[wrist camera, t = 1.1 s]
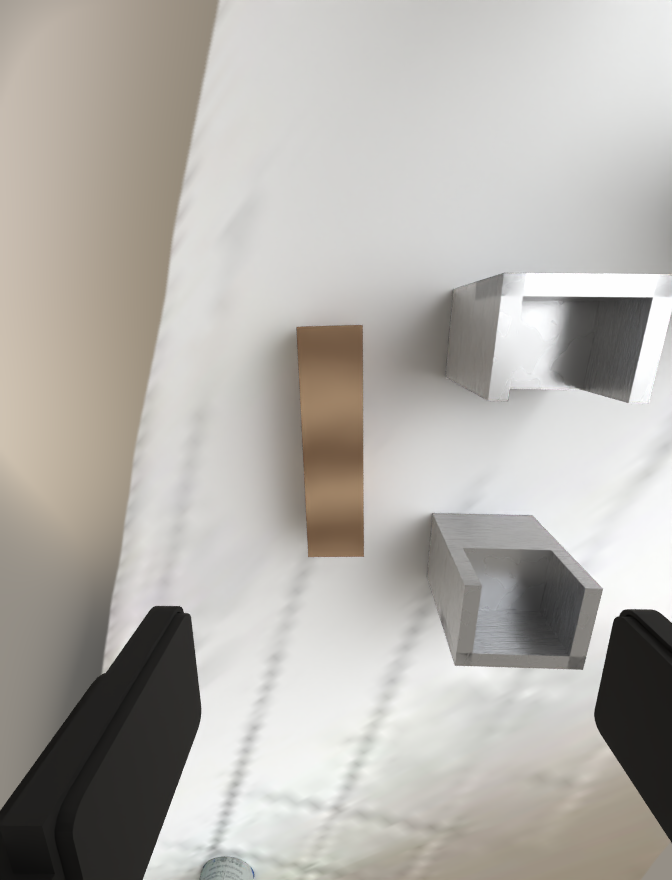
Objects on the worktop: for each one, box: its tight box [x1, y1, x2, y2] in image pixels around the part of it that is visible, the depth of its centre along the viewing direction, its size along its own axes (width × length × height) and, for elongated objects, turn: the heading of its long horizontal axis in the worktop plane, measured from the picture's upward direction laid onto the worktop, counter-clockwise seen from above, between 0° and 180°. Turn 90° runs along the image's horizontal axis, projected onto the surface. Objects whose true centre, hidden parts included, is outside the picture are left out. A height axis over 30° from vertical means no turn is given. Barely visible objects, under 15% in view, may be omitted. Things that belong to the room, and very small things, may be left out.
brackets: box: [427, 273, 672, 670], centre depth 25 cm, size 23×8×9 cm, turn 179°
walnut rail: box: [297, 325, 364, 557], centre depth 28 cm, size 16×4×4 cm, turn 1°
